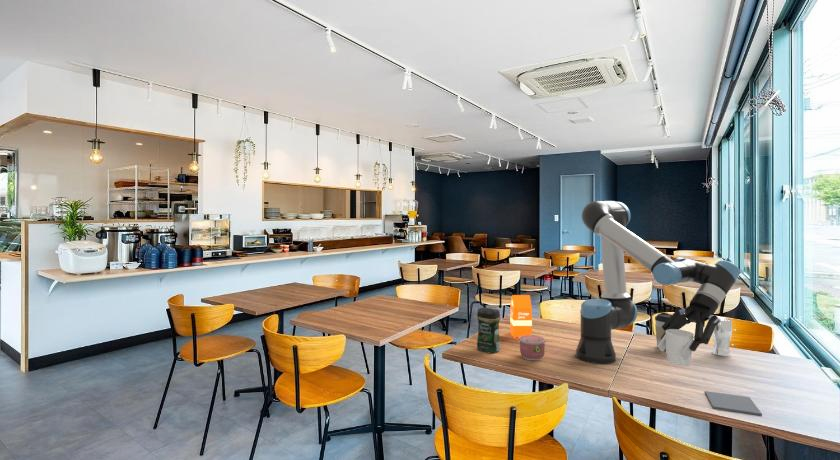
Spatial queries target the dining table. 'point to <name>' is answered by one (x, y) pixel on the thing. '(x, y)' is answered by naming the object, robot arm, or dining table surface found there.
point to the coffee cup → (660, 325)
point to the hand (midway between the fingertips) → (671, 352)
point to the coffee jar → (488, 330)
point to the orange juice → (520, 316)
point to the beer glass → (722, 337)
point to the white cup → (677, 346)
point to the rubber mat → (732, 403)
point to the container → (532, 347)
